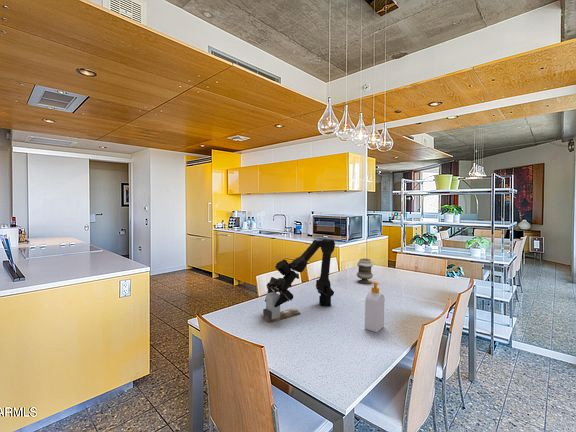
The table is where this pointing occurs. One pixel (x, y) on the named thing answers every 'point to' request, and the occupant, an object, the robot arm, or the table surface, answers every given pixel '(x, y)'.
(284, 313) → the rail board
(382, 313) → the soap bottle
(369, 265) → the stone urn vase
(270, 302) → the block
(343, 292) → the table surface
